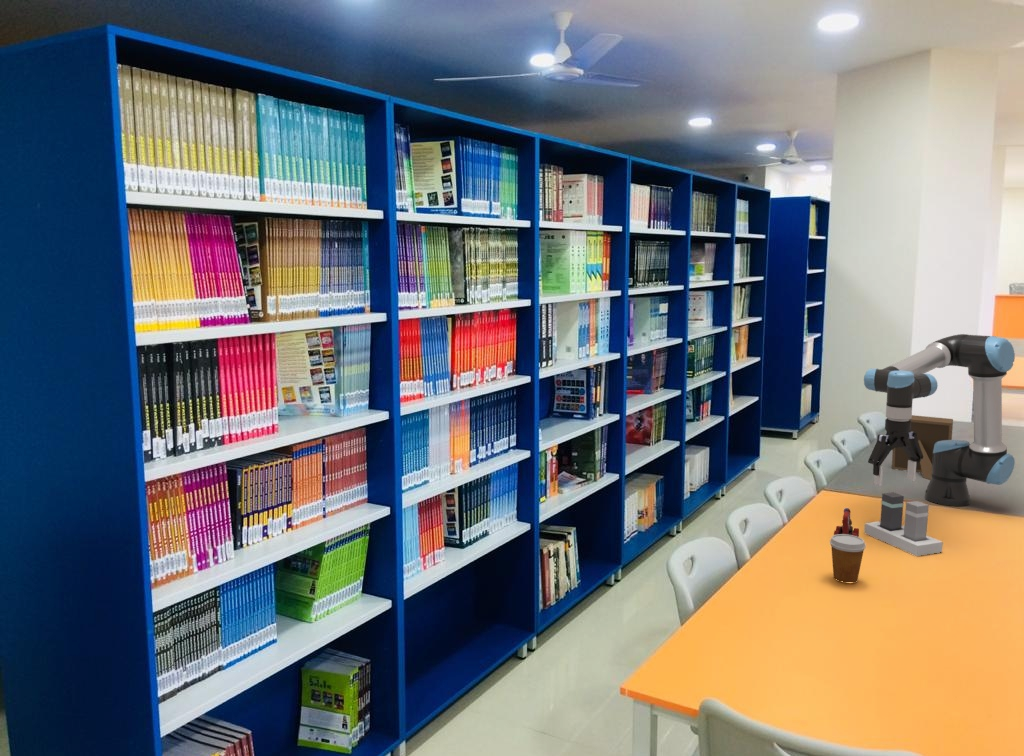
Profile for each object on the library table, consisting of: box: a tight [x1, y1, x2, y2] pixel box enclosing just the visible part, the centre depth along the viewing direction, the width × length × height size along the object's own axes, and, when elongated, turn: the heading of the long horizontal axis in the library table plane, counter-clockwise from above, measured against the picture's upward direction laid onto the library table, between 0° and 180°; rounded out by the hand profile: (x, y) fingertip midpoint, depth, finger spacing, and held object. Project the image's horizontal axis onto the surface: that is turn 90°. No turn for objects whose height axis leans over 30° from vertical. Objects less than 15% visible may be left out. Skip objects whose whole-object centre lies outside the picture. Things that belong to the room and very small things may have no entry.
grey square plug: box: [903, 500, 930, 542], centre depth 248 cm, size 5×5×14 cm
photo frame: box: [891, 414, 954, 481], centre depth 332 cm, size 15×22×25 cm
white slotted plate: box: [863, 520, 944, 557], centre depth 254 cm, size 10×22×4 cm, turn 18°
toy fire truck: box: [833, 508, 860, 537], centre depth 255 cm, size 7×12×10 cm, turn 152°
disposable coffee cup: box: [829, 534, 867, 583], centre depth 224 cm, size 10×10×12 cm
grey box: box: [879, 491, 905, 531], centre depth 258 cm, size 5×5×14 cm
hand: (894, 482), depth 256 cm, fingers open, 13 cm apart
